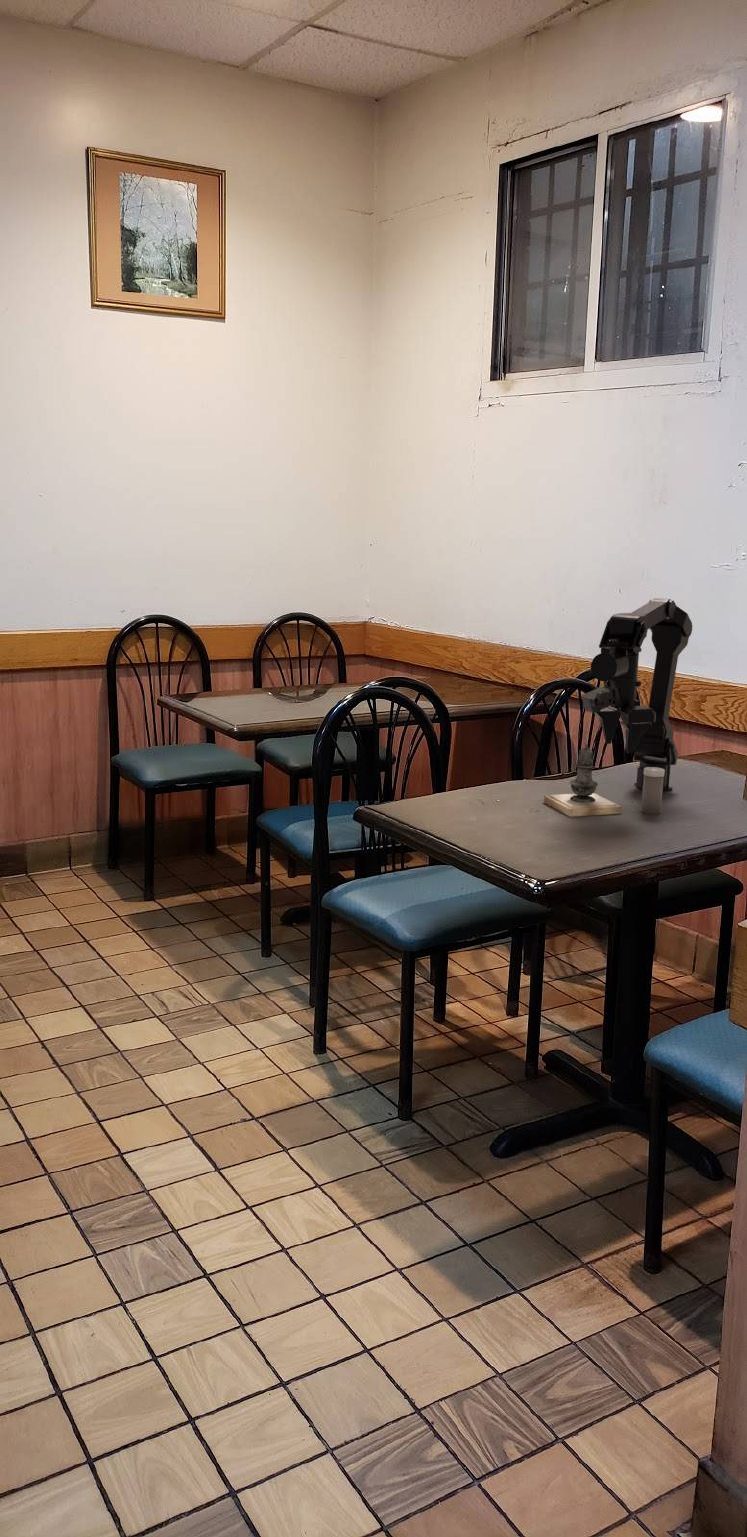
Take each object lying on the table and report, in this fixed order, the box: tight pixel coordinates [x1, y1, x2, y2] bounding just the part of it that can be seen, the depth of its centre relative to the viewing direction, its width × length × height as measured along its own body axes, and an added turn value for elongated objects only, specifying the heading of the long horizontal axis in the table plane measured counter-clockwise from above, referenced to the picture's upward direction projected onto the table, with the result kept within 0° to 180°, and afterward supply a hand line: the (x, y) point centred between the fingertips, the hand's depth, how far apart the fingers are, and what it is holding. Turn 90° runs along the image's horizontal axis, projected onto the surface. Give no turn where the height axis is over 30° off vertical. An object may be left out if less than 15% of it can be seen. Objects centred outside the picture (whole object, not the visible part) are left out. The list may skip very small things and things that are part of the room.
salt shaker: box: [569, 743, 599, 803], centre depth 249 cm, size 6×6×12 cm
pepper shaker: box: [640, 767, 665, 815], centre depth 248 cm, size 4×4×9 cm
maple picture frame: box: [543, 792, 623, 817], centre depth 251 cm, size 12×12×2 cm
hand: (618, 748), depth 251 cm, fingers open, 9 cm apart
